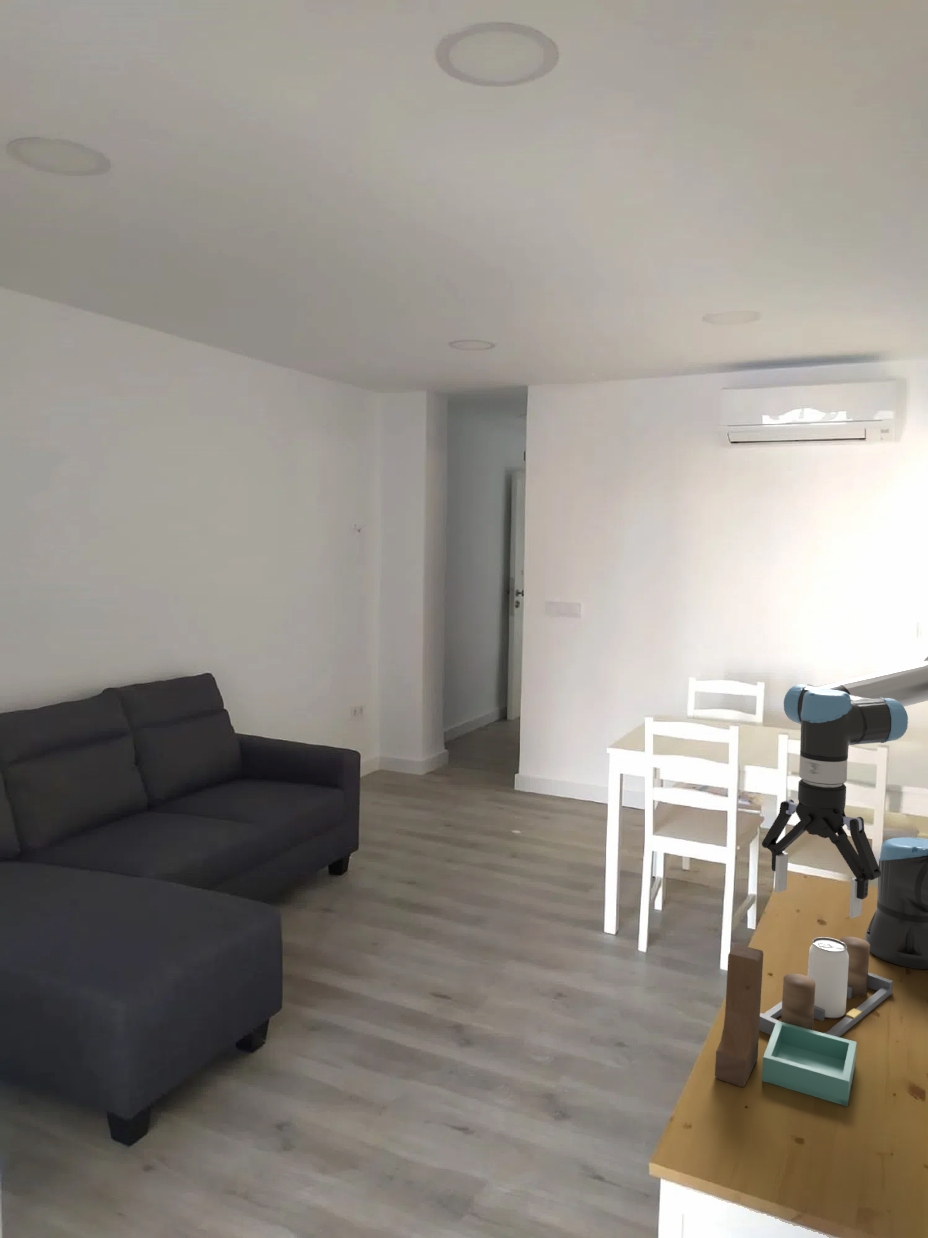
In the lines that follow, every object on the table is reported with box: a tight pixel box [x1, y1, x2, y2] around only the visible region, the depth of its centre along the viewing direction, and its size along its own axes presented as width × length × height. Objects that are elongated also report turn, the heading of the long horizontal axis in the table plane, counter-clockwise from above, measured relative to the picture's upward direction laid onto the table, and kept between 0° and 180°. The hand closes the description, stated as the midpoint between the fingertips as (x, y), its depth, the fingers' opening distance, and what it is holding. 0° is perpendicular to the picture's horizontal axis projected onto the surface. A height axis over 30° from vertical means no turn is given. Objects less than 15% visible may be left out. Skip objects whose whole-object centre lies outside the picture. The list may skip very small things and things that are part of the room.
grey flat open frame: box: [759, 971, 894, 1038], centre depth 157 cm, size 30×11×2 cm, turn 133°
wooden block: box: [714, 944, 764, 1088], centre depth 137 cm, size 9×4×18 cm, turn 149°
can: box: [807, 936, 849, 1020], centre depth 156 cm, size 6×6×12 cm
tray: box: [761, 1020, 858, 1107], centre depth 138 cm, size 12×12×4 cm
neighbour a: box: [839, 935, 871, 997], centre depth 164 cm, size 5×5×9 cm
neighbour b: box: [780, 973, 816, 1030], centre depth 149 cm, size 5×5×9 cm
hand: (816, 903), depth 153 cm, fingers open, 13 cm apart
